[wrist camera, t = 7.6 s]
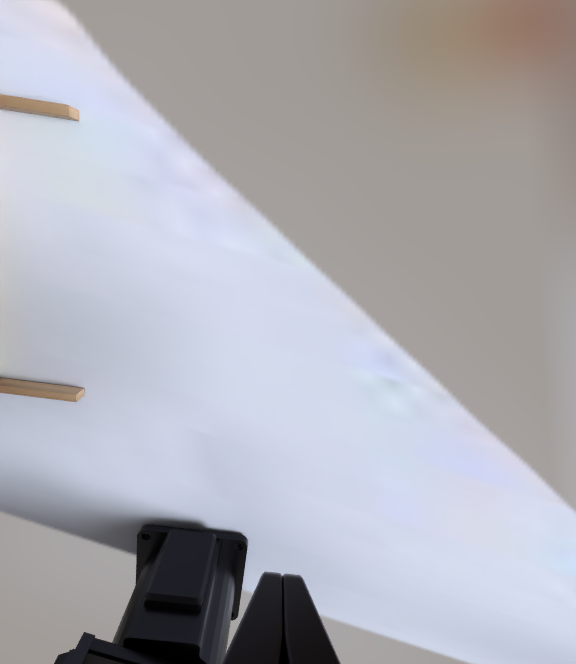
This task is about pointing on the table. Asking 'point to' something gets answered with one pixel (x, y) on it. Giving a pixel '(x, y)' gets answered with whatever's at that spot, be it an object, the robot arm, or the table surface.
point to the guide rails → (18, 385)
